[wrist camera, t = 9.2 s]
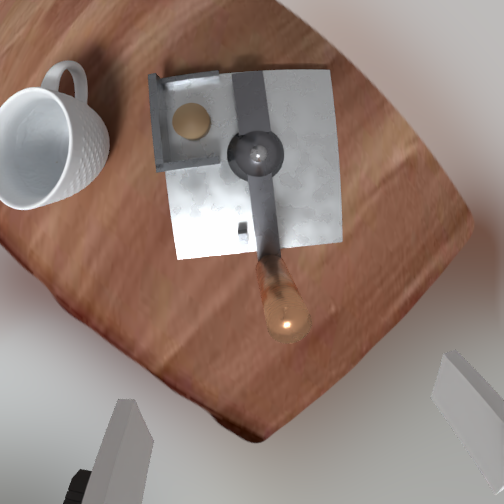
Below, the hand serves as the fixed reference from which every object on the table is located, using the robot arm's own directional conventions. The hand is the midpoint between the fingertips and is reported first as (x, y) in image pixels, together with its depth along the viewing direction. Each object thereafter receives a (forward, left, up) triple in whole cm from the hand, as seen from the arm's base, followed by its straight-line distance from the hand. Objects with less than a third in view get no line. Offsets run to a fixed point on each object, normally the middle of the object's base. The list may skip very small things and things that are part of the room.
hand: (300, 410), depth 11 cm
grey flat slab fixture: (-10, +1, -27) cm, 29 cm away
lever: (-7, +1, -24) cm, 25 cm away
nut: (-14, -5, -25) cm, 29 cm away
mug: (-15, -19, -27) cm, 37 cm away
